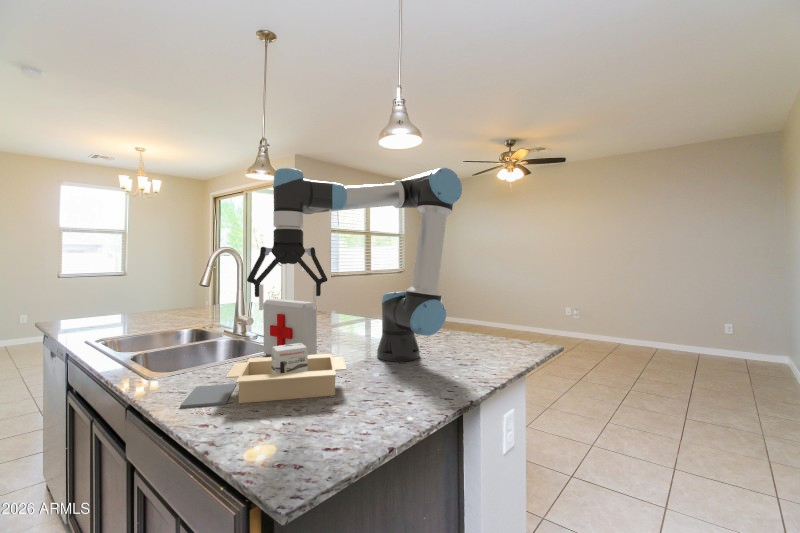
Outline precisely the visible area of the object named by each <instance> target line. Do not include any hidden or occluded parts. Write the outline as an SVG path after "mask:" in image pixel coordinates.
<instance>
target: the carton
mask: <svg viewBox="0 0 800 533" xmlns="http://www.w3.org/2000/svg"><path fill="white" fill-rule="evenodd" d="M332 354H333V353H317V354H315V355H308V371H307V372H292V373H277V374H271V369H272V356H268V357H267V356H266V357H265V356H264V357H263V356H262V357H250V358H248V359H247V361H246V362H234V364H233V366H232V367H231V369H230V370H229V371H228V373H227V375H226V376H225V379H235V378H237V379H236V381H235V384H238V404H247V403H255V402H256V403H257V402H259V403H260V402H268V401H269V402H270V401H282V400H283V401H284V400H294V399H306V398H307V399H308V398H317V397H318V398H320V397H330V396H336V376H337V371H338V372H339V371H347V366H346V362H345V359H344V357H343V356H333V355H332Z"/></svg>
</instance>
